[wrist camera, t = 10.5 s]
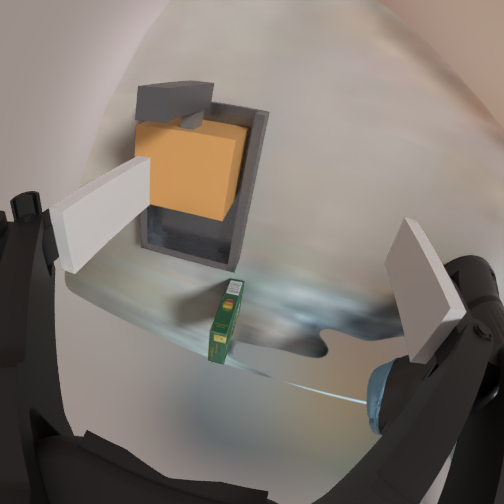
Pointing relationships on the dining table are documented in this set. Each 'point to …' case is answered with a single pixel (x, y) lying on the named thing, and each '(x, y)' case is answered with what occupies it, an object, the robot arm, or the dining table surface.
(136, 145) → the grey and orange block
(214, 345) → the coffee box
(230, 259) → the bay
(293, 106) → the dining table surface
